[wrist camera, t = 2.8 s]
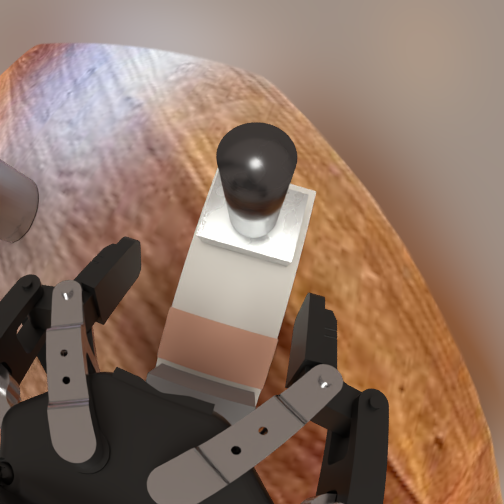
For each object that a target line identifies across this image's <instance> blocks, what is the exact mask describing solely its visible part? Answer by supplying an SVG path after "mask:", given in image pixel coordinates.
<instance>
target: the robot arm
mask: <svg viewBox="0 0 504 504" xmlns="http://www.w3.org/2000/svg"><path fill="white" fill-rule="evenodd" d="M37 204H38V191H37V187H36V185H35V183H34V182H33V181H32V180H31V179H29V178H28V177H26V176H25V175H23V174H22V173H20V172H19V171H17V170H16V169H14V168H13V167H11V166H10V165H8V164H7V163H5V162H4V161H2V160H1V159H0V239H1V240H5V241H8V242H14V241H17V240H18V239H20V238H21V237H22V236H23V235H24V234H25V233H26V232H27V230H28V229H29V227H30V225H31V224H32V222H33V219H34V216H35V213H36V210H37ZM140 270H141V248H140V242H139V241H138V240H135V239H132V238H129V237H123V238H122V239H121V240H120V241H119V242H118V243H117V244H111V245H109V246H107V247H105V248H104V249H103V250H102V251H101V252H100V253H99V254H98V255H97V256H96V257H95V258H94V259H93V260H92V262H90V263H89V264H88V265H87V266H86V267H85V268H84V269H83V270H82V271H81V273H80V274H79V275H78V276H77V277H76V278H75V279H74V280H66V281H62V282H60V283H59V284H57V285H56V286H55V287H53V286H46V285H41V282H40V279H39V278H38V277H37V276H36V275H26V276H24V277H22V278H20V279H19V280H18V281H17V283H16V284H15V285H14V286H13V287H12V288H11V289H10V291H9V292H8V293H7V294H6V295H5V297H4V298H3V299H2V300H1V301H0V429H1V445H0V504H274V503H273V501H272V499H271V497H270V496H269V494H268V492H267V490H266V488H265V487H264V485H263V483H262V481H261V479H260V477H259V475H258V474H257V472H256V470H255V468H254V466H255V465H256V464H258V463H259V462H260V461H262V460H263V459H264V458H266V457H267V456H268V455H269V454H271V453H272V452H273V451H275V450H276V449H277V448H278V447H279V446H281V445H282V444H283V443H284V442H286V441H287V440H288V439H289V438H290V437H291V436H293V435H294V434H295V433H296V432H297V431H298V430H300V429H301V428H302V427H303V426H304V425H305V424H306V423H307V422H308V421H309V420H310V421H312V422H314V423H316V424H318V425H320V426H322V427H324V428H326V429H328V431H327V437H326V444H325V450H324V456H323V462H322V467H321V472H320V478H319V483H318V487H317V492H316V496H314V497H310V498H307V499H306V500H304V501H303V502H302V503H301V504H383V499H384V491H385V481H386V470H387V455H388V431H389V404H388V400H387V398H386V397H385V395H384V394H383V393H382V392H380V391H379V390H376V389H367V390H365V391H363V392H360V391H358V390H357V389H355V388H353V387H351V386H349V385H347V384H346V383H345V382H344V381H343V379H342V376H341V374H340V373H339V371H338V370H337V332H336V331H337V320H336V318H335V316H334V313H333V311H331V310H327V309H325V297H323V296H320V295H316V294H313V293H308V294H307V296H306V298H305V300H304V302H303V304H302V306H301V308H300V311H299V313H298V315H297V317H296V320H295V324H294V329H293V337H292V344H291V352H290V359H289V366H288V373H287V379H286V386H285V388H288V389H287V390H285V391H284V392H283V393H281V394H280V395H275V396H273V397H272V398H270V399H269V400H268V401H266V402H265V403H264V404H262V405H261V406H259V407H258V408H257V409H255V410H254V411H252V412H251V413H250V414H248V415H247V416H245V417H244V418H242V419H241V420H239V421H238V422H236V423H235V424H233V425H231V424H230V423H229V421H227V420H226V419H225V418H224V417H223V416H222V415H220V414H219V413H217V412H216V411H214V407H215V404H212V403H209V402H206V401H203V400H200V399H197V398H194V397H191V396H184V395H176V394H168V393H162V392H160V391H158V390H157V389H155V388H154V387H152V386H151V385H150V384H148V383H147V382H145V381H144V380H143V379H141V378H140V377H138V376H136V375H134V374H131V373H129V372H127V371H125V370H123V369H120V368H118V367H116V369H115V371H114V373H113V372H100V369H99V366H98V362H97V356H96V348H95V340H94V332H93V325H94V323H95V322H98V323H100V324H103V325H104V324H105V322H106V321H107V319H108V318H109V316H110V315H111V314H112V312H113V311H114V309H115V308H116V307H117V305H118V304H119V302H120V301H121V300H122V298H123V297H124V295H125V294H126V293H127V291H128V290H129V289H130V287H131V286H132V285H133V283H134V282H135V281H136V279H137V278H138V276H139V274H140ZM26 316H27V317H28V319H27V321H26V322H25V324H24V325H23V326H22V328H21V329H20V331H19V332H18V333H17V329H18V327H19V326H20V325H21V323H22V322H23V320H24V319H25V318H26ZM16 333H17V335H16ZM45 342H46V363H47V382H48V392H45V393H43V394H40V395H38V396H35V397H33V398H30V399H28V400H25V401H22V402H20V401H21V398H20V387H19V385H20V383H21V381H22V380H23V378H24V376H25V374H26V373H27V371H28V369H29V368H30V366H31V364H32V363H33V361H34V359H35V358H36V356H37V354H38V353H39V351H40V350H41V348H42V347H43V345H44V343H45Z"/></svg>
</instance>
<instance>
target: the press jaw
mask: <svg viewBox="0 0 504 504" xmlns="http://www.w3.org/2000/svg"><path fill="white" fill-rule="evenodd" d="M296 164H297V151H296V148H295V145H294V143H293V142H292V140H291V139H290V137H289V136H288V135H287V134H286V133H285V132H283V131H282V130H281V129H279V128H277V127H275V126H273V125H270V124H266V123H258V122H257V123H247V124H243V125H240V126H237V127H235V128H234V129H232V130H231V131H229V132H228V133H227V134H226V135H225V136H224V137H223V139H222V140H221V142H220V144H219V146H218V149H217V165H218V169H219V171H218V174H217V176H216V179H215V182H214V185H213V187H212V190H211V193H210V196H209V198H208V201H207V204H206V207H205V210H204V213H203V216H202V219H201V222H200V225H199V227H198V230H197V233H196V235H197V237H198V238H199V239H200V240H201V242H203V243H206V244H210V245H213V246H217V247H220V248H224V249H227V250H230V251H234V252H237V253H241V254H244V255H248V256H251V257H255V258H258V259H262V260H265V261H268V262H272V263H275V264H279V265H282V266H286V267H287V266H288V265H289V264H290V263H291V262H292V258H293V255H294V251H295V247H296V243H297V240H298V236H299V232H300V228H301V224H302V220H303V216H304V212H305V208H306V204H307V200H308V196H309V195H308V194H305V193H301V192H298V191H295V190H291V189H288V188H289V185H290V182H291V179H292V176H293V173H294V171H295V168H296Z"/></svg>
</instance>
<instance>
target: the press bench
mask: <svg viewBox="0 0 504 504" xmlns="http://www.w3.org/2000/svg"><path fill="white" fill-rule="evenodd" d="M218 171H219V169H218V168H217V171H216V174H215V176H214V179H213V182H212V185H211V187H210V190H209V193H208V196H207V199H206V201H205V204H204V207H203V210H202V213H201V216H200V219H199V222H198V224H197V227H196V230H195V233H194V236H193V239H192V243H191V246H190V249H189V252H188V255H187V258H186V261H185V264H184V268H183V271H182V274H181V277H180V281H179V284H178V287H177V291H176V294H175V297H174V301H173V304H172V307H170V309H169V313H168V316H167V320H166V324H165V327H164V331H163V335H162V338H161V342H160V346H159V350H158V354H157V357H158V360H157V363H156V368H154V369H153V370H151V371H150V372H148V374H147V379H146V382H147V383H148V384H150V385H151V386H152V387H154V388H155V389H157V390H158V391H160V392H162V393H168V394H176V395H184V396H191V397H194V398H197V399H200V400H203V401H206V402H209V403H212V404H215V407H214V411H216V412H217V413H219V414H220V415H222V416H223V417H224V418H225V419H226V420H227V421H229V423H230V424H231V425H233V424H235V423H236V422H238V421H239V420H241V419H242V418H244V417H245V416H247V415H248V414H250V413H251V412H252V411H254V410H255V408H256V404H257V401H258V398H259V395H260V392H261V389H262V390H263V387H264V384H265V380H266V377H267V374H268V371H269V368H270V365H271V362H272V358H273V355H274V352H275V349H276V345H277V342H278V339H277V338H278V334H279V331H280V327H281V324H282V321H283V317H284V314H285V310H286V307H287V303H288V300H289V296H290V293H291V289H292V285H293V282H294V278H295V274H296V271H297V267H298V263H299V259H300V256H301V252H302V248H303V244H304V240H305V236H306V232H307V228H308V224H309V220H310V216H311V212H312V207H313V203H314V199H315V195H316V191H313V190H309V189H306V188H303V187H300V186H296V185H293V184H290V185H289V188H288V189H291V190H295V191H298V192H301V193H305V194H308V195H309V196H308V200H307V204H306V208H305V212H304V216H303V220H302V224H301V228H300V232H299V236H298V240H297V243H296V247H295V251H294V255H293V258H292V262H291V263H290V264H289V265H288V266H287V267H286V266H282V265H279V264H275V263H272V262H268V261H265V260H262V259H258V258H255V257H251V256H248V255H244V254H241V253H237V252H234V251H230V250H227V249H224V248H220V247H217V246H213V245H210V244H206V243H203V242H201V240H200V239H199V238H198V237H197V235H196V233H197V230H198V227H199V225H200V222H201V219H202V216H203V213H204V210H205V207H206V204H207V201H208V198H209V196H210V193H211V190H212V187H213V185H214V182H215V179H216V176H217V174H218Z"/></svg>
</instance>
